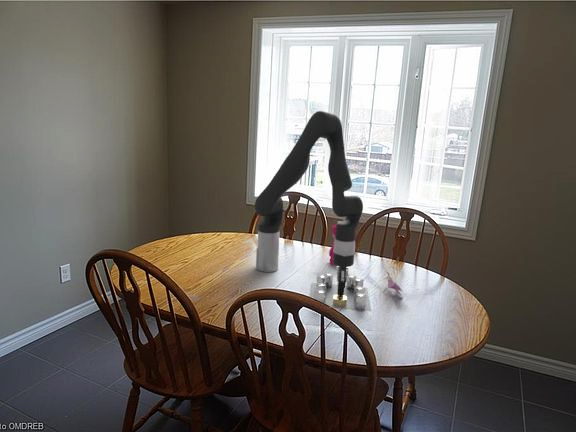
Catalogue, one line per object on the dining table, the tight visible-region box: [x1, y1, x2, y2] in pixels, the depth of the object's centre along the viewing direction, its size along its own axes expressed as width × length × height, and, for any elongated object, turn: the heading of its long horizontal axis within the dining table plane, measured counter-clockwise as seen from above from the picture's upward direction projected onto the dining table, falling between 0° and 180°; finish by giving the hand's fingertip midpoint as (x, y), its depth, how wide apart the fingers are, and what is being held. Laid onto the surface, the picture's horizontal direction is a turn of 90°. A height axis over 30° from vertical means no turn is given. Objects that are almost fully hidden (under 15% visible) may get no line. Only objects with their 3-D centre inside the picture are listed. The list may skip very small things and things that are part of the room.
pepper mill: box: [328, 220, 341, 266], centre depth 187 cm, size 7×7×20 cm
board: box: [305, 282, 372, 332], centre depth 146 cm, size 22×32×1 cm
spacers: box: [315, 272, 366, 312], centre depth 151 cm, size 18×21×5 cm
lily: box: [382, 269, 403, 298], centre depth 157 cm, size 12×12×10 cm
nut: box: [333, 294, 347, 307], centre depth 146 cm, size 5×5×2 cm
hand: (340, 295), depth 150 cm, fingers closed
